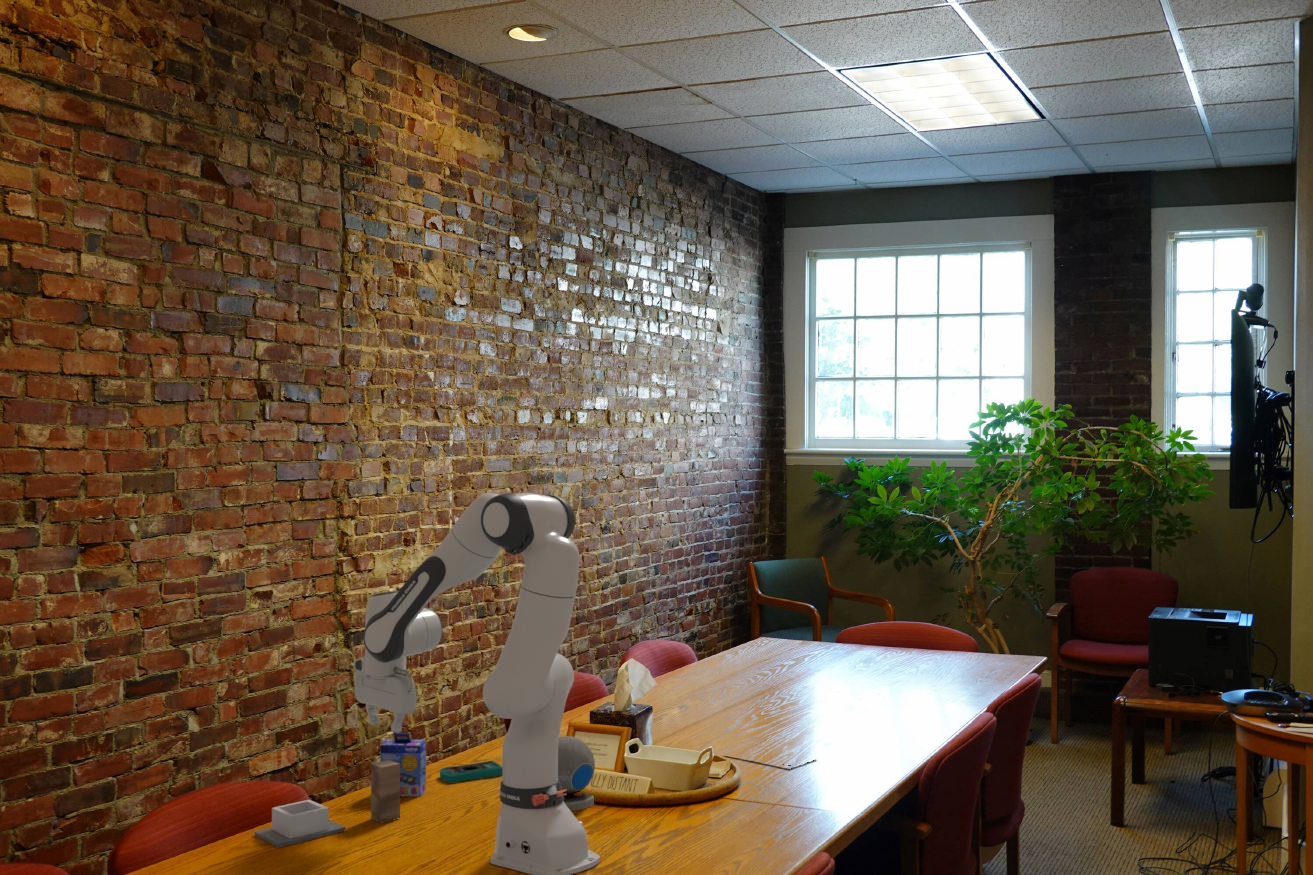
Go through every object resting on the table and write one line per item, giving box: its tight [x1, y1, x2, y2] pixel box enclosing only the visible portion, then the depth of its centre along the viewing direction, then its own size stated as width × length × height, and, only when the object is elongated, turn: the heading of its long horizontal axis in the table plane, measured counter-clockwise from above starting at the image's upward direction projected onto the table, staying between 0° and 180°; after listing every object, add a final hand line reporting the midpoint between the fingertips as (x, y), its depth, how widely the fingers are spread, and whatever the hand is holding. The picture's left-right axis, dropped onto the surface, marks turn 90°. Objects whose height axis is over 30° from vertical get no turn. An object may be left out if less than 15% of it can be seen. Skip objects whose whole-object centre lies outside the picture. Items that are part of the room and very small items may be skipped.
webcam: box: [558, 735, 596, 812], centre depth 263 cm, size 13×13×15 cm
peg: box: [370, 760, 401, 823], centre depth 252 cm, size 4×4×12 cm
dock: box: [253, 799, 347, 849], centre depth 242 cm, size 11×15×5 cm
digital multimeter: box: [439, 760, 503, 784], centre depth 286 cm, size 7×15×3 cm, turn 120°
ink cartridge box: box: [379, 733, 427, 798], centre depth 271 cm, size 10×6×14 cm, turn 88°
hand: (385, 727), depth 252 cm, fingers open, 8 cm apart
